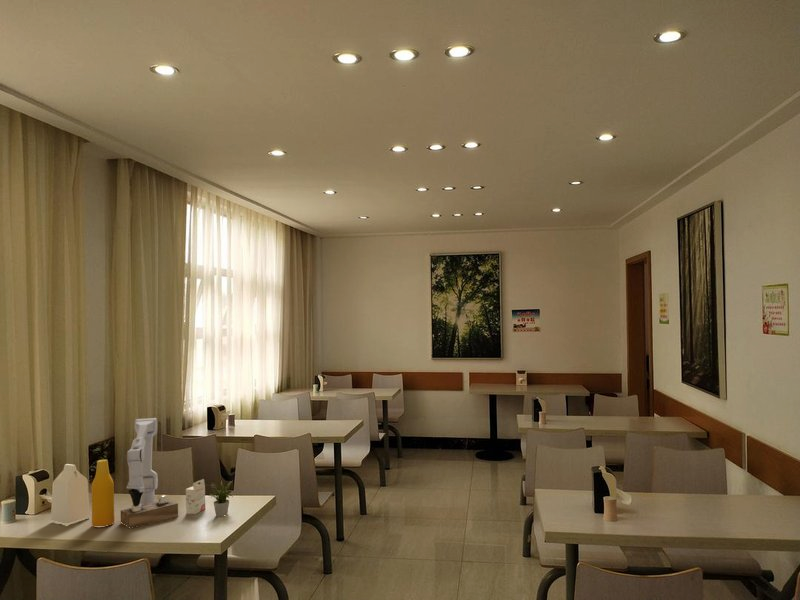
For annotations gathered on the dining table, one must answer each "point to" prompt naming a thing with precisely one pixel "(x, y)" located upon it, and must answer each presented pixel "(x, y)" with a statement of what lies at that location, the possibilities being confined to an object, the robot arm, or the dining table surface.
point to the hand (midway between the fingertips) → (136, 505)
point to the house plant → (221, 499)
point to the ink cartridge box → (195, 498)
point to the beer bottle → (102, 496)
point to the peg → (162, 500)
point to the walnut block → (149, 513)
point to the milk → (70, 496)
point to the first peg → (136, 508)
